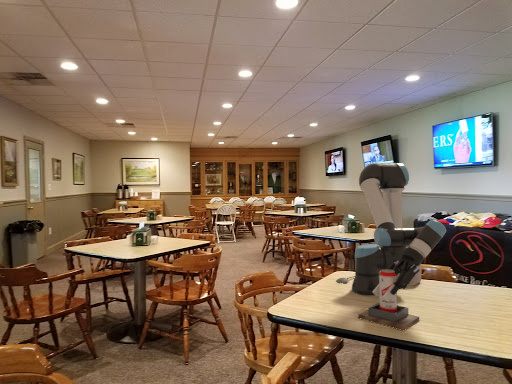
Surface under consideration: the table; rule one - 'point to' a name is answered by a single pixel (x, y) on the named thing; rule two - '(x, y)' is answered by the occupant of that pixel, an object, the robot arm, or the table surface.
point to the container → (416, 278)
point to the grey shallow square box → (388, 313)
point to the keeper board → (400, 324)
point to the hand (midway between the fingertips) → (379, 296)
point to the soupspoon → (343, 280)
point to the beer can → (385, 283)
